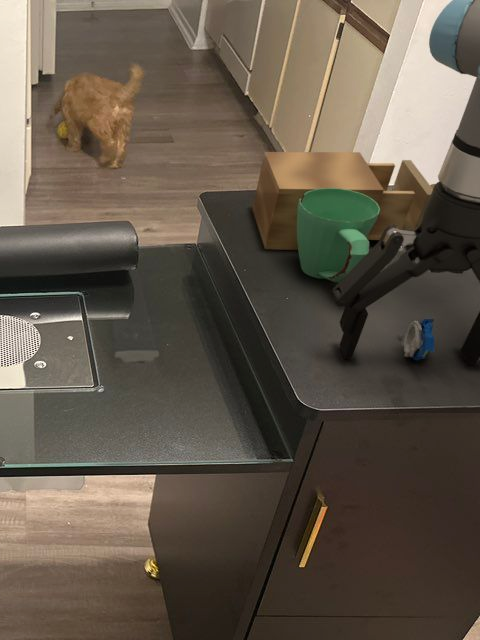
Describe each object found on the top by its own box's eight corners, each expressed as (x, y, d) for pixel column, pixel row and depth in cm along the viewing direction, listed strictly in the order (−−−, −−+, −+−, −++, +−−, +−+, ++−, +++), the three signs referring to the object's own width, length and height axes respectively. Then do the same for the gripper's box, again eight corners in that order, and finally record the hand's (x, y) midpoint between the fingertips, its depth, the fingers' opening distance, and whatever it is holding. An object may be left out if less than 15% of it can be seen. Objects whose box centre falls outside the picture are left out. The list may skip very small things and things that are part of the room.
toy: (425, 371, 84) (440, 337, 81) (392, 366, 85) (406, 332, 82) (419, 346, 88) (434, 312, 85) (387, 342, 89) (401, 308, 86)
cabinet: (342, 210, 114) (359, 152, 108) (363, 251, 105) (384, 189, 99) (252, 209, 116) (264, 151, 110) (264, 249, 107) (279, 188, 101)
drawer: (422, 208, 112) (441, 160, 106) (448, 245, 103) (470, 195, 98) (308, 206, 114) (321, 159, 109) (325, 243, 105) (339, 193, 100)
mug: (273, 252, 106) (289, 189, 99) (343, 250, 105) (363, 186, 99) (305, 310, 95) (325, 242, 88) (383, 308, 94) (409, 239, 88)
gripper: (355, 202, 72) (302, 369, 85) (637, 208, 68) (534, 380, 82) (337, 170, 77) (290, 331, 91) (597, 174, 74) (507, 340, 87)
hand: (405, 355), depth 86 cm, fingers open, 13 cm apart
